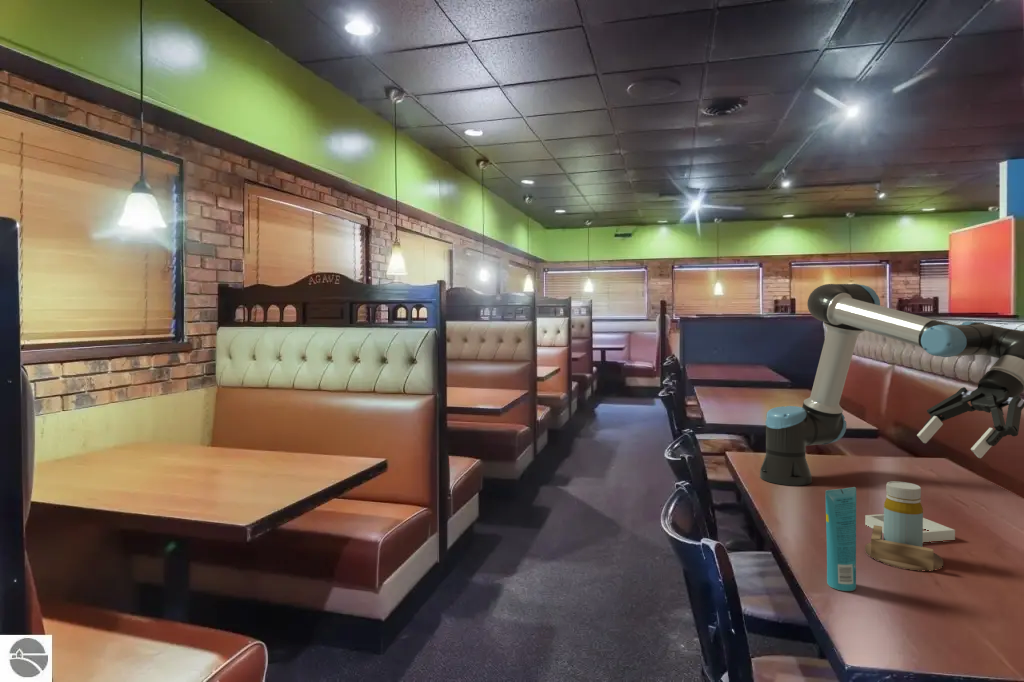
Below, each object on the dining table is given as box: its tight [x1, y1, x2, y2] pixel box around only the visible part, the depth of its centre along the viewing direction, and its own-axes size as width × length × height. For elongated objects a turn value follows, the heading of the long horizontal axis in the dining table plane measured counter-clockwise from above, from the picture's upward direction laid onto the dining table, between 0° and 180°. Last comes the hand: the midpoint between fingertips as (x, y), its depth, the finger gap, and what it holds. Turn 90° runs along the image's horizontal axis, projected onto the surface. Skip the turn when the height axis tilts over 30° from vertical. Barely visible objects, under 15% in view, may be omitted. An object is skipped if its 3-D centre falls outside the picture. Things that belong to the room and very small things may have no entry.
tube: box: [825, 486, 857, 592], centre depth 109 cm, size 7×5×19 cm, turn 112°
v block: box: [864, 525, 944, 572], centre depth 122 cm, size 14×15×4 cm
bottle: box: [883, 480, 924, 547], centre depth 122 cm, size 7×7×15 cm
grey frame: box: [864, 513, 956, 543], centre depth 136 cm, size 13×13×2 cm
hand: (946, 446), depth 128 cm, fingers open, 13 cm apart
